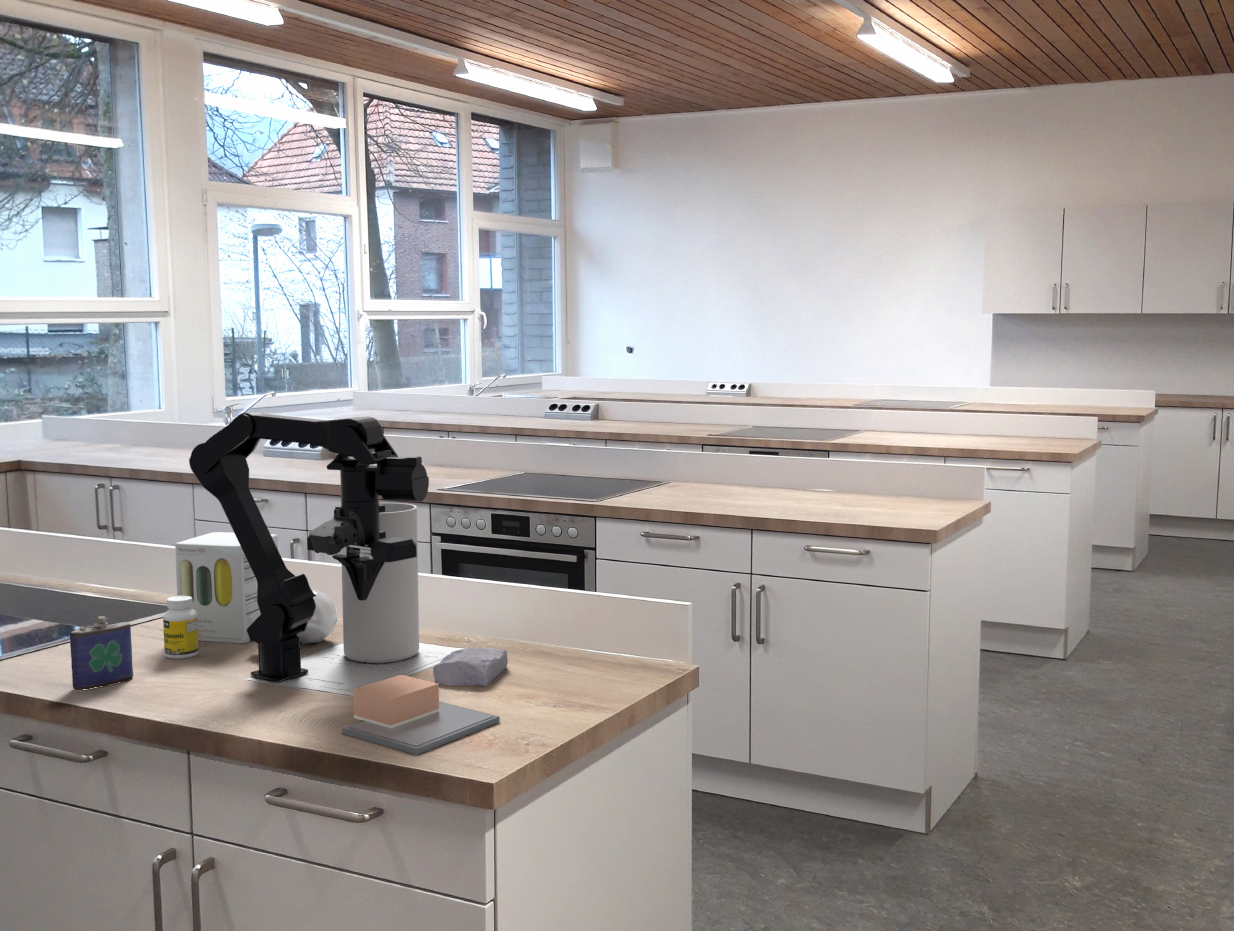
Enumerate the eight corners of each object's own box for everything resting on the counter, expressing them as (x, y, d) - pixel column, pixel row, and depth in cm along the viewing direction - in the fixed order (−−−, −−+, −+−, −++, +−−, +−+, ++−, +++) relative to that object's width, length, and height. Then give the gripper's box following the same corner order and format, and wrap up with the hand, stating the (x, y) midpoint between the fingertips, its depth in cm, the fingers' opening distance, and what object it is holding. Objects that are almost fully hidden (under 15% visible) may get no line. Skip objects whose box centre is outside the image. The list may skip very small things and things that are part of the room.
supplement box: (176, 640, 207) (172, 542, 205) (217, 622, 220) (214, 530, 218) (244, 644, 204) (241, 545, 202) (281, 626, 217) (279, 533, 215)
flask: (129, 676, 185) (125, 609, 183) (137, 679, 183) (134, 612, 181) (69, 689, 178) (66, 620, 177) (77, 693, 176) (74, 623, 175)
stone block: (430, 696, 181) (491, 687, 179) (424, 666, 180) (485, 656, 178) (456, 677, 192) (513, 668, 190) (450, 649, 192) (507, 640, 190)
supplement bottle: (157, 657, 195) (155, 599, 194) (180, 649, 200) (178, 593, 199) (183, 660, 193) (180, 602, 192) (205, 652, 198) (203, 596, 197)
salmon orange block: (352, 689, 161) (390, 699, 156) (401, 674, 168) (438, 683, 164) (353, 717, 161) (391, 728, 157) (401, 701, 168) (439, 711, 164)
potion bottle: (339, 643, 210) (275, 673, 197) (303, 608, 213) (239, 635, 200) (356, 607, 206) (293, 635, 193) (320, 571, 208) (255, 597, 196)
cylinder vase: (378, 641, 206) (375, 500, 203) (434, 650, 200) (432, 506, 197) (327, 657, 195) (324, 509, 193) (384, 668, 189) (381, 515, 186)
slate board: (342, 733, 158) (342, 726, 157) (427, 703, 170) (427, 697, 170) (416, 754, 149) (416, 748, 149) (499, 722, 162) (499, 715, 162)
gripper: (277, 500, 177) (280, 601, 179) (362, 510, 166) (364, 618, 168) (334, 492, 186) (337, 589, 188) (418, 502, 175) (420, 604, 177)
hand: (362, 600), depth 180 cm, fingers closed
